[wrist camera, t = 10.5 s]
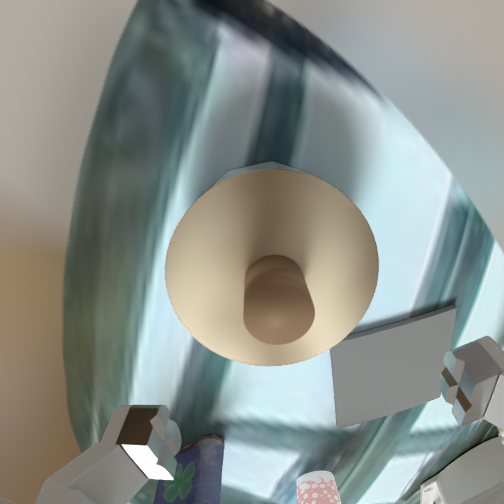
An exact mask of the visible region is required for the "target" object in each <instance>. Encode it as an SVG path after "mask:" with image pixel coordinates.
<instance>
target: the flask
mask: <svg viewBox="0 0 504 504" xmlns="http://www.w3.org/2000/svg"><path fill="white" fill-rule="evenodd" d="M220 438H221V437H218V436H216V435H215V434H212V435H210V436H203V437H200V438H198V439H199V440H198V441H196V442H192V443H190V444H186V446H184V448H183V449H182V450H180V451H179V452H178V453H177V454H176V455H175V456H174V458H175V459H176V461H177V466H176V471H175V476H174V479H159V482H158V485H157V490H156V495H155V499H154V503H153V504H220V491H221V479H222V465H223V455H224V440H223V439H222V438H221V439H222V440H221V439H220ZM222 441H223V442H222Z"/></svg>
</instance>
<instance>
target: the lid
mask: <svg viewBox="0 0 504 504" xmlns="http://www.w3.org/2000/svg"><path fill="white" fill-rule="evenodd" d="M378 272H379V258H378V251H377V245H376V242H375V239H374V235H373V233H372V230H371V228H370V226H369V224H368V222H367V220H366V219H365V217H364V216H363V214H362V213H361V211H360V210H359V209H358V207H357V206H356V205H355V204H354V203H353V202H352V201H351V200H350V199H349V198H348V197H347V196H346V195H344V194H343V193H342V192H341V191H339V190H338V189H337V188H335V187H333V186H332V185H330V184H329V183H327V182H325V181H323V180H322V179H320V178H317V177H315V176H313V175H310V174H308V173H304V172H300V171H296V170H291V169H282V168H263V169H257V170H251V171H247V172H243V173H240V174H237V175H234V176H232V177H229V178H227V179H225V180H223V181H221V182H219V183H218V184H216V185H215V186H213V187H211V188H210V189H208V190H207V191H206V192H205V193H204V194H203V195H201V196H200V197H199V198H198V199H197V200H196V201H195V202H194V204H193V205H192V206H191V207H190V208H189V209H188V211H187V212H186V213H185V214H184V216H183V217H182V219H181V220H180V222H179V224H178V225H177V227H176V229H175V231H174V233H173V235H172V238H171V240H170V243H169V247H168V250H167V255H166V263H165V280H166V286H167V292H168V295H169V299H170V302H171V304H172V307H173V309H174V311H175V313H176V315H177V316H178V318H179V320H180V321H181V323H182V324H183V326H184V327H185V328H186V329H187V330H188V331H189V333H190V334H191V335H192V336H193V337H194V338H196V339H197V340H198V341H199V342H200V343H201V344H203V345H204V346H206V347H207V348H208V349H210V350H212V351H213V352H215V353H217V354H219V355H221V356H223V357H226V358H228V359H230V360H233V361H237V362H240V363H244V364H250V365H257V366H281V365H288V364H294V363H297V362H301V361H305V360H307V359H310V358H313V357H315V356H317V355H319V354H321V353H323V352H325V351H327V350H329V349H330V348H332V347H333V346H335V345H336V344H338V343H339V342H340V341H341V340H343V339H344V338H345V337H346V336H347V335H348V334H349V333H350V332H351V331H352V330H353V329H354V328H355V327H356V326H357V324H358V323H359V322H360V320H361V319H362V318H363V316H364V314H365V313H366V311H367V309H368V307H369V305H370V303H371V301H372V298H373V296H374V292H375V289H376V285H377V279H378Z"/></svg>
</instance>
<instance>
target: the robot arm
mask: <svg viewBox="0 0 504 504" xmlns="http://www.w3.org/2000/svg"><path fill="white" fill-rule="evenodd" d="M443 363H444V364H445V366H446V367H445V369H444V370H443V371H442V372H441V376H440V389H441V392H442V395H443V397H444V399H445V401H446V402H448V403H450V404H452V405H453V408H452V413H453V415H454V417H455V418H456V420H457V422H458V424H459V426H460V427H461V426H464V425H466V424H469V423H471V422H473V421H476V420H478V419H480V418H482V417H484V418H483V419H485V420H487V421H488V422H490V423H492V424H493V425H495V426H497V427H498V428H500V429H502V430H504V351H503V350H502V349H501V348H500V347H499V346H498V345H497V343H496V342H495V341H494V340H493V339H492V338H491V337H489V336H485V337H483V338H480V339H478V340H475V341H474V342H470V343H468V344H465V345H463V346H460V347H457V348H455V349H452V350H449V351H447V352H446V354H445V355H444V360H443ZM169 417H170V412H169V410H168V408H167V407H166V406H164V405H119V406H117V407H116V409H115V411H114V413H113V415H112V417H111V420H110V422H109V424H108V426H107V429H106V431H105V433H104V435H103V438H102V440H101V442H100V443H95V444H94V445H93V446H91V447H90V448H89V449H87V450H86V451H85V452H83V453H82V454H81V455H79V456H78V457H77V458H75V459H74V460H73V461H71V462H70V463H69V464H67V465H66V466H65V467H63V468H62V469H60V470H59V471H58V472H56V473H55V474H53V475H52V476H51V477H49V478H48V479H46V480H45V483H44V485H43V487H42V489H41V491H40V493H39V495H38V498H37V500H36V502H35V504H127V503H128V502H129V501H130V500H131V499H132V498H133V496H134V495H135V494H136V493H137V492H138V491H139V490H140V489H141V488H142V487H143V485H144V484H145V483H146V482H147V481H148V479H174V476H175V471H176V466H177V461H176V459H175V458H174V456H175V455H176V454H177V453H178V452H179V451H180V448H181V433H180V430H179V427H178V425H177V424H176V422H174V421H172V420H171V419H169ZM501 439H502V438H499V437H496V438H493V439H490V440H488V441H486V442H484V443H482V444H480V445H478V446H477V447H475V448H473V449H471V450H470V451H468V452H467V453H465V454H464V455H462V456H461V457H459V458H458V459H456V460H455V461H454V462H452V463H451V464H450V465H448V466H447V467H446V468H445V469H444V470H442V471H441V472H440V473H439V474H437V475H436V476H434V477H432V478H431V479H429V480H428V481H426V482H424V483H423V484H422V485H421V491H420V504H504V444H503V443H502V442H501ZM0 504H15V503H13V502H11V501H9V500H7V499H5V498H3V497H1V496H0Z"/></svg>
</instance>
